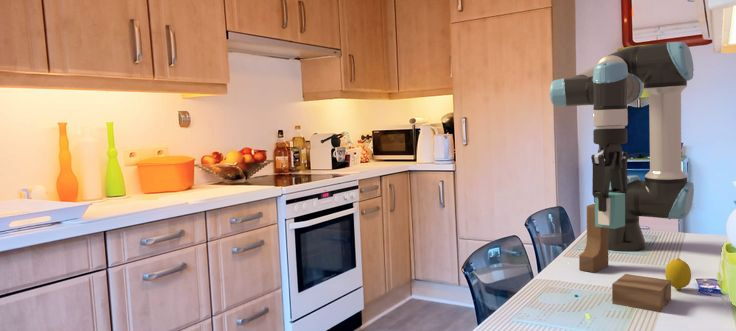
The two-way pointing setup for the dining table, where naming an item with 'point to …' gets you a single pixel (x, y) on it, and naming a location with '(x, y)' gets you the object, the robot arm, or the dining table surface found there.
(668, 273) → the lemon
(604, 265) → the wooden block
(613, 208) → the teal block
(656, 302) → the walnut base block
